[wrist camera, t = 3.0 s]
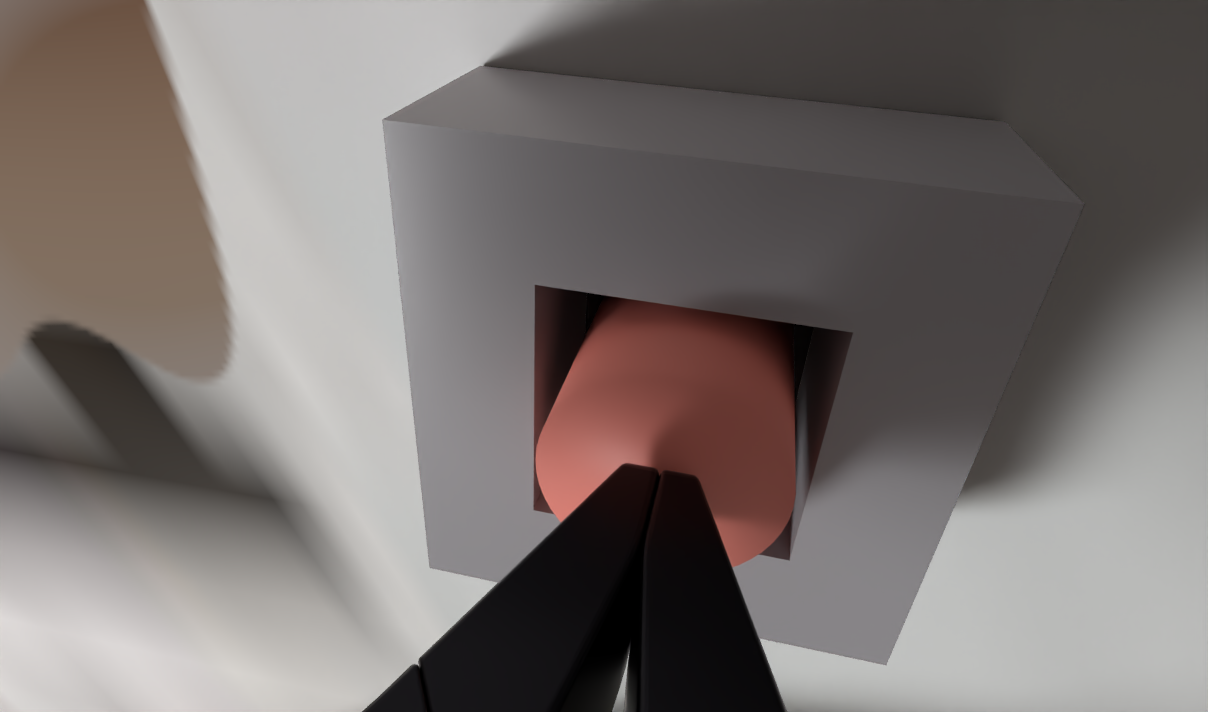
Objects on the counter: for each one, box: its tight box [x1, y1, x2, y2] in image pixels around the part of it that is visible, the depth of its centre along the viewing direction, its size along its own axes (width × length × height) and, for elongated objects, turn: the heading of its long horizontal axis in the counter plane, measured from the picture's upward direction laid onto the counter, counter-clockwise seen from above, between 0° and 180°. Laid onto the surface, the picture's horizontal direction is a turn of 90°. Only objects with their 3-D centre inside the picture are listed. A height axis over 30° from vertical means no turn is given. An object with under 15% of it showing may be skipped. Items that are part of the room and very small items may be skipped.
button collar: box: [382, 66, 1085, 665], centre depth 10 cm, size 7×7×3 cm
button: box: [535, 295, 796, 567], centre depth 10 cm, size 3×3×4 cm
